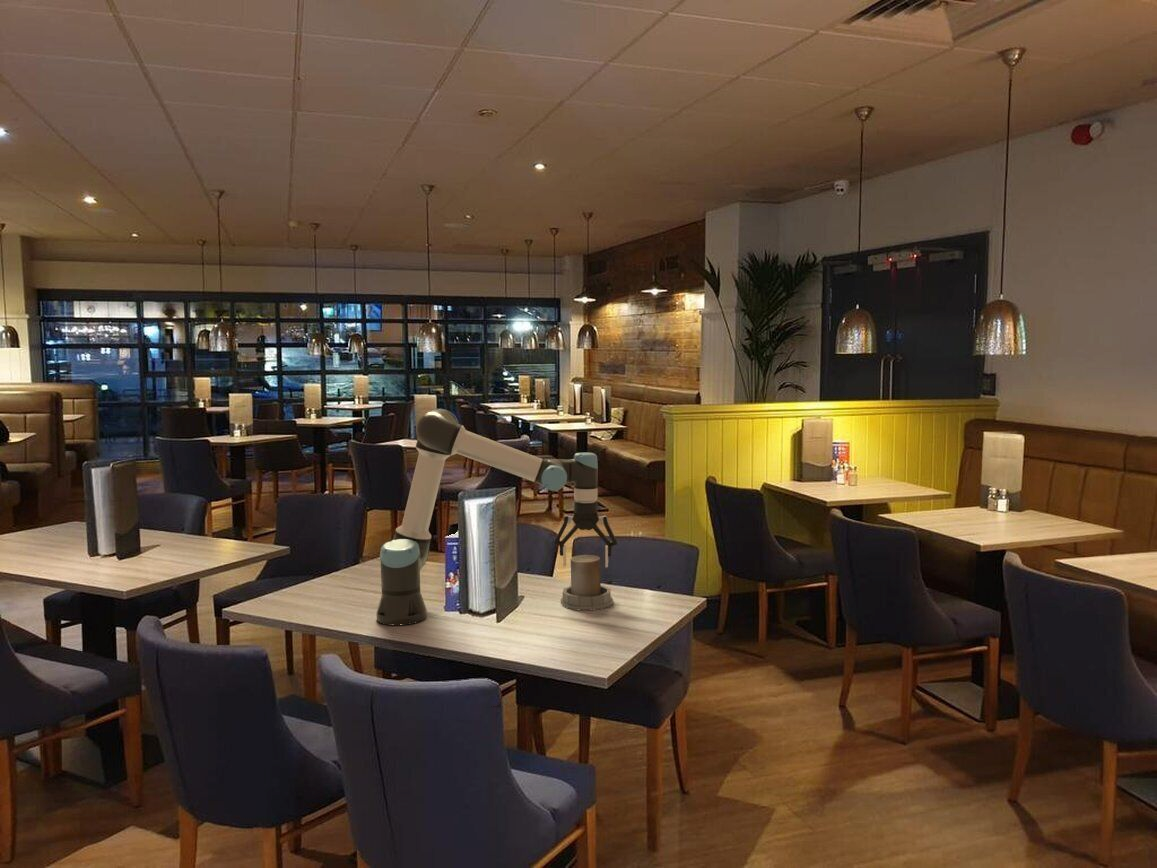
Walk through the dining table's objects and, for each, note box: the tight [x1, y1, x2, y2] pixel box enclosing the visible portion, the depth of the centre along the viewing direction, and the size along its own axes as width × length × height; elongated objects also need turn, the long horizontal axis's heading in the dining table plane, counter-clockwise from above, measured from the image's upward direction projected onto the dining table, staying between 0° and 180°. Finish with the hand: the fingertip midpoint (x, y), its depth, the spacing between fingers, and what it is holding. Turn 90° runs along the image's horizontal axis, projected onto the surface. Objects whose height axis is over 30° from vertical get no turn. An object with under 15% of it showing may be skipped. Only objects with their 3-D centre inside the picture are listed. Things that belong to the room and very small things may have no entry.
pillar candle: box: [570, 554, 602, 596], centre depth 273 cm, size 10×10×15 cm
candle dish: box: [560, 585, 614, 611], centre depth 273 cm, size 17×17×4 cm
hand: (585, 566), depth 273 cm, fingers open, 13 cm apart
